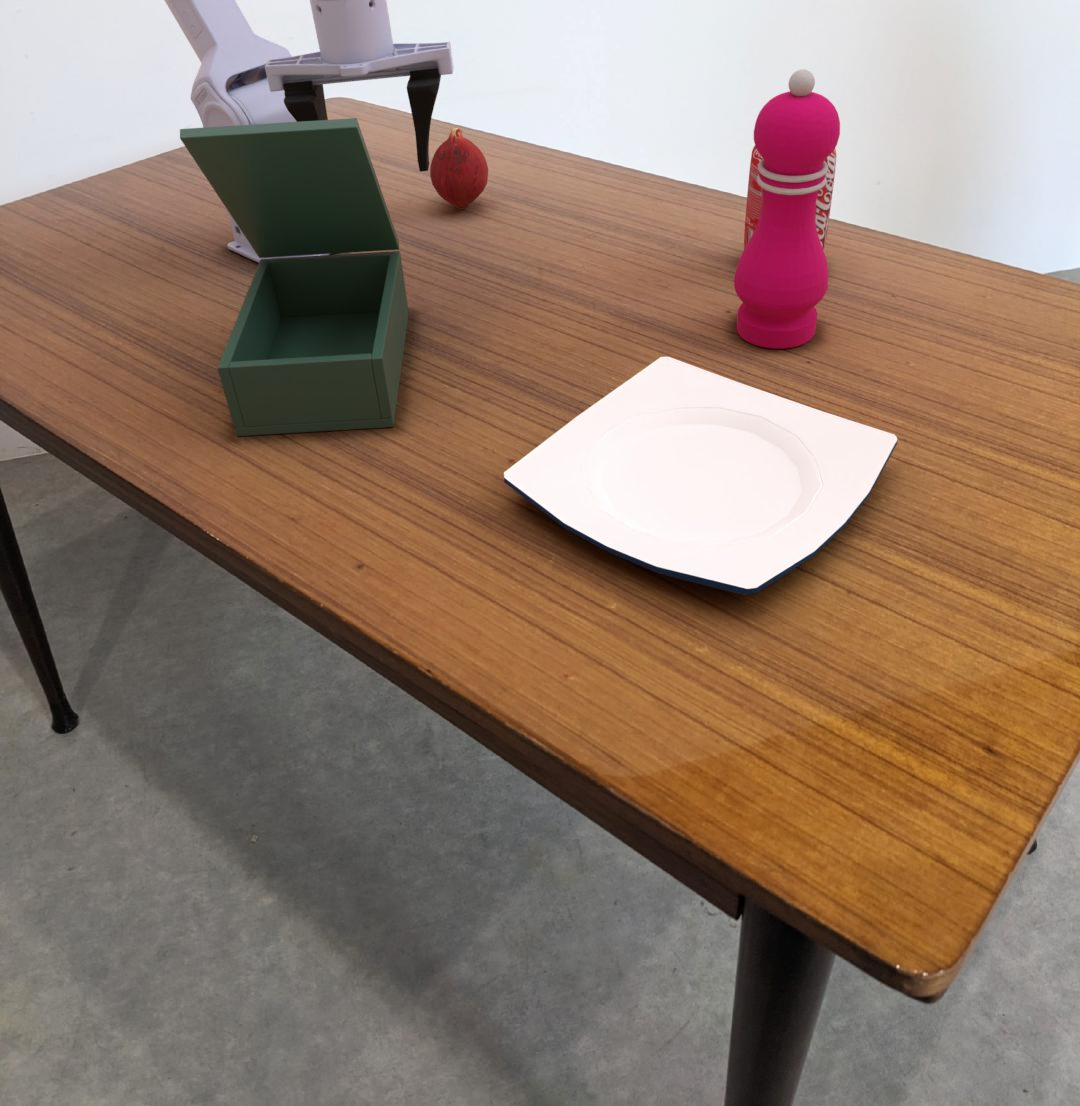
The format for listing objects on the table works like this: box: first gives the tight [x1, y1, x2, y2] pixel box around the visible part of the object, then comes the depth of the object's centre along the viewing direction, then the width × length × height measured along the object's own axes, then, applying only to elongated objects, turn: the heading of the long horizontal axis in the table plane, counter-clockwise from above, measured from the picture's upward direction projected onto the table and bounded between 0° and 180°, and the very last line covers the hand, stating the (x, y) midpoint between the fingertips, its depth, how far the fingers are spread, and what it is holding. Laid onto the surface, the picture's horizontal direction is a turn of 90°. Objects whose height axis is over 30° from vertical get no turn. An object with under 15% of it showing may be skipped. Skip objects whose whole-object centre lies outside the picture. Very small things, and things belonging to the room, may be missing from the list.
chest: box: [217, 250, 410, 437], centre depth 82 cm, size 18×12×6 cm, turn 2°
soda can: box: [743, 145, 837, 251], centre depth 90 cm, size 7×7×12 cm
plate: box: [503, 356, 899, 596], centre depth 69 cm, size 20×20×3 cm
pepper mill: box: [733, 68, 841, 350], centre depth 79 cm, size 7×7×20 cm
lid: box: [179, 117, 400, 258], centre depth 78 cm, size 18×12×4 cm
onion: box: [429, 126, 489, 210], centre depth 105 cm, size 6×6×8 cm
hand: (379, 171), depth 88 cm, fingers open, 7 cm apart
